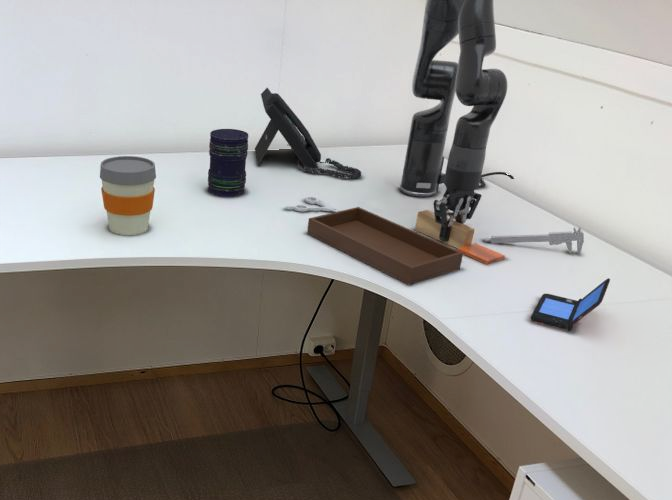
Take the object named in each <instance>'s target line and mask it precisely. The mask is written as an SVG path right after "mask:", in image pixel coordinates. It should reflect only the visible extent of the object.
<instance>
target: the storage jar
mask: <svg viewBox="0 0 672 500" xmlns="http://www.w3.org/2000/svg"><path fill="white" fill-rule="evenodd" d="M209 137H210V138H209V142H208V143H209V145H208V147H209V150H208V156H209V169H208V171H207V185H208V187H207V193H209V194H210V195H212V196H215V197H219V198H238V197H241V196H243V195H244V194H245V193H246V192H245V187H246V184H247V183H246V182H247V171H246V163H247V157H248V154H249V153H248V150H249V140H248V139H249V133H248V132H247V131H244V130H241V129H235V128H218V129H214V130H212V131H210V132H209Z"/></svg>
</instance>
